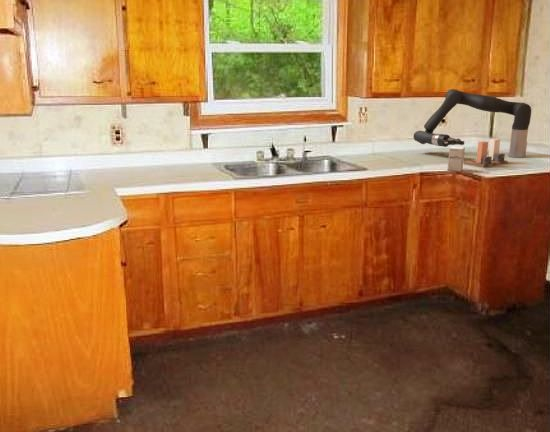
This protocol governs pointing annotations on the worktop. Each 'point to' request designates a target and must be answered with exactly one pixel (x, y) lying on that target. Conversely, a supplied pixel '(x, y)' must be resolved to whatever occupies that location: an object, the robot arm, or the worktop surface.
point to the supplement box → (456, 158)
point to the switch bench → (488, 161)
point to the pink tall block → (481, 151)
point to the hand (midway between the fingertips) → (463, 143)
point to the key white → (494, 148)
